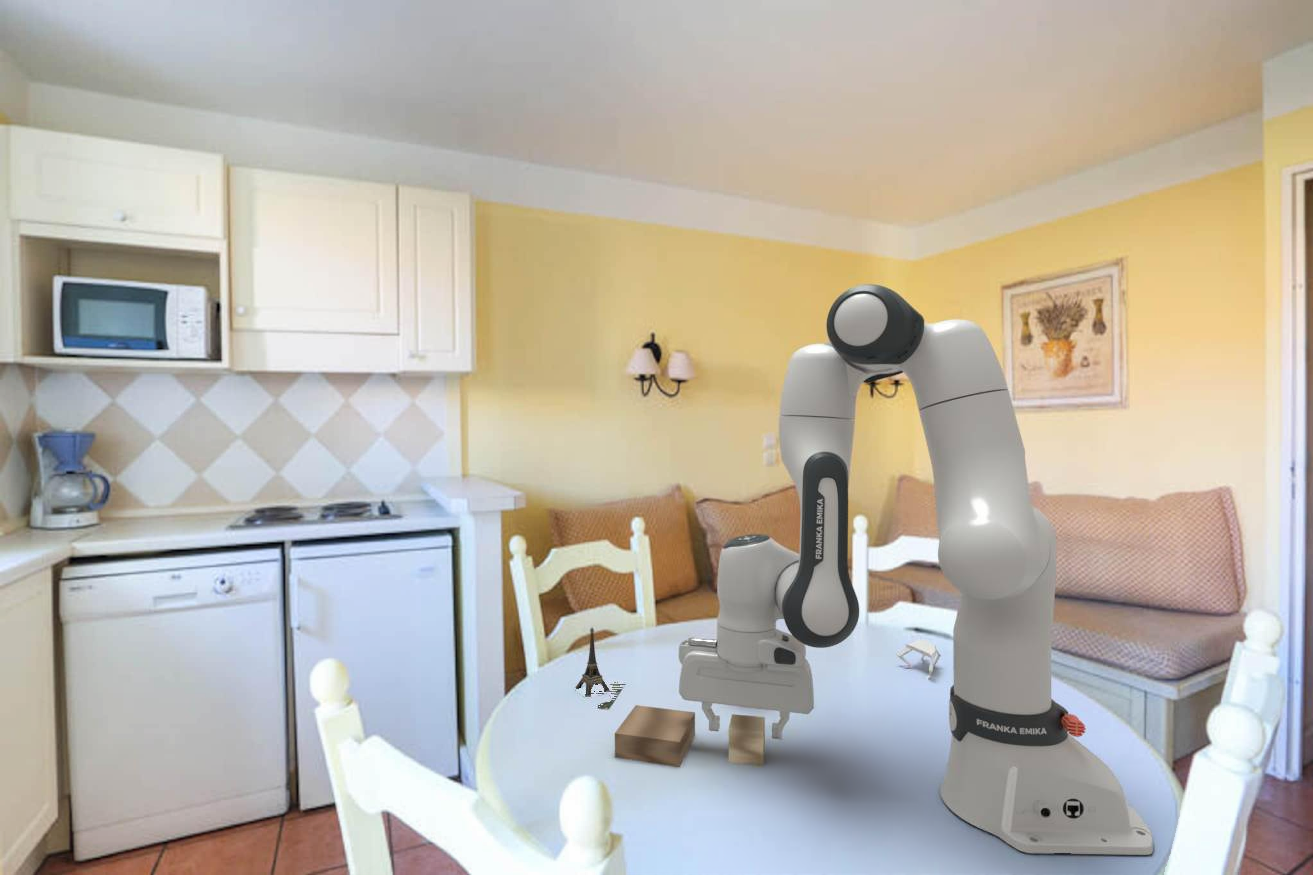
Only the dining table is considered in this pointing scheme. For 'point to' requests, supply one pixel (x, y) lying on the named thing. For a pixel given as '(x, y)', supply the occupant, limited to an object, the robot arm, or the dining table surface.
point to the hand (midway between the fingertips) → (745, 733)
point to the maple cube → (747, 740)
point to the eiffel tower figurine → (596, 677)
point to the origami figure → (924, 649)
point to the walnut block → (655, 735)
